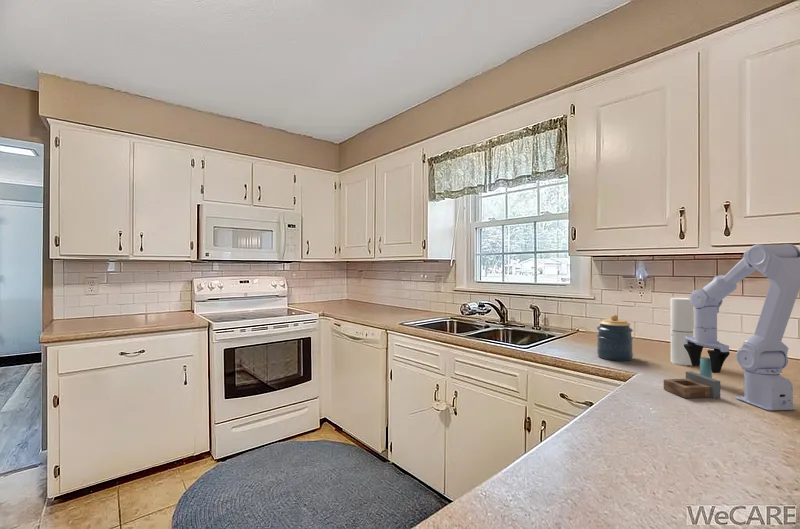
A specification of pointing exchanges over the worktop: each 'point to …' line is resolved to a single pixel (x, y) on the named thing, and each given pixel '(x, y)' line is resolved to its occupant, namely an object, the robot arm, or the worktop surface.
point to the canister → (614, 339)
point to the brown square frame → (687, 388)
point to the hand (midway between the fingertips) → (705, 369)
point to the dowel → (705, 367)
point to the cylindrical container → (680, 329)
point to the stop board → (706, 382)
